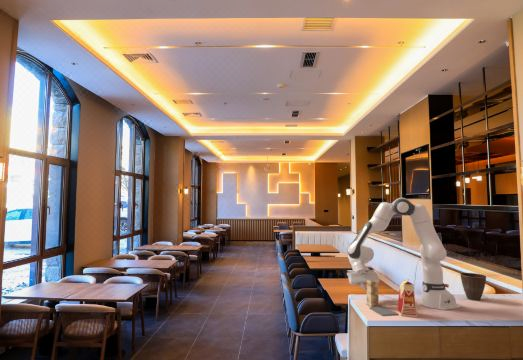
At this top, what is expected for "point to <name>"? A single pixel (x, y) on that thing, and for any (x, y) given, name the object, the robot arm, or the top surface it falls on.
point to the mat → (383, 311)
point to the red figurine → (407, 300)
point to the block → (372, 293)
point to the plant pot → (473, 285)
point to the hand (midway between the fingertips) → (368, 289)
